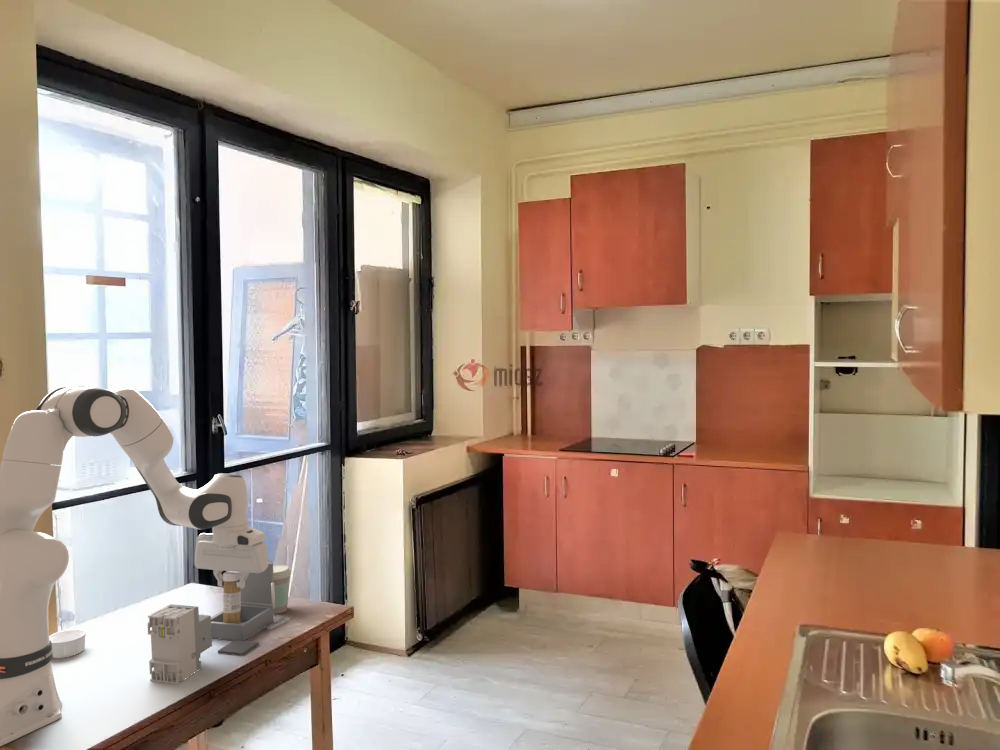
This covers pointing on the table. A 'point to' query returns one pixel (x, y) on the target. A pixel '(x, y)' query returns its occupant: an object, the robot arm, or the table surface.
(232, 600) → the sprinkles bottle
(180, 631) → the circuit breaker
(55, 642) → the ramekin
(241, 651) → the pad
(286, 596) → the coffee cup
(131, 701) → the table surface
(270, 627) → the rod
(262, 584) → the case
